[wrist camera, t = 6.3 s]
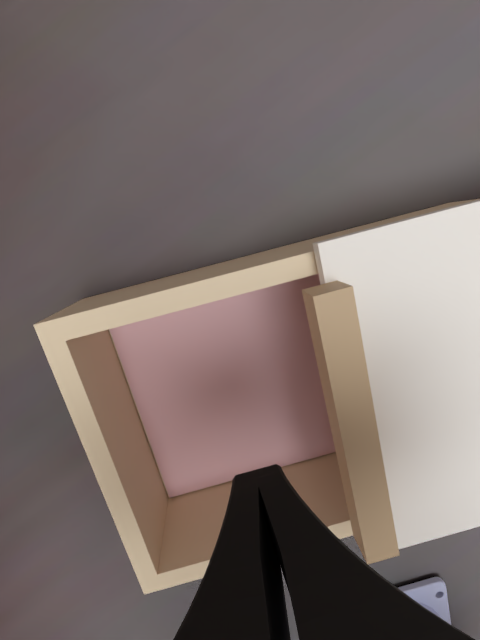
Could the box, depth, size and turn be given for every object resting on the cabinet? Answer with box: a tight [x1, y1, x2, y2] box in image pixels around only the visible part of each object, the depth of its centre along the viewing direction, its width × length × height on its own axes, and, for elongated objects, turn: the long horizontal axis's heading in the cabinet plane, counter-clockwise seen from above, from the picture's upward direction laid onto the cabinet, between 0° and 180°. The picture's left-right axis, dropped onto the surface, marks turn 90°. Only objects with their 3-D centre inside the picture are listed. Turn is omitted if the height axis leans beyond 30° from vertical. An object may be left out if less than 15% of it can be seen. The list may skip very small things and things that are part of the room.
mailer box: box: [34, 199, 479, 595], centre depth 16 cm, size 12×18×5 cm, turn 104°
